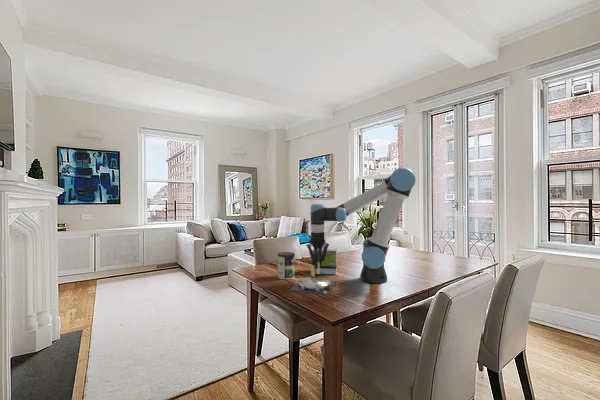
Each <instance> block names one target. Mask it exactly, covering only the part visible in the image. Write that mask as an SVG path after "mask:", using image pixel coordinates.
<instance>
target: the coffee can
mask: <svg viewBox="0 0 600 400" xmlns="http://www.w3.org/2000/svg"><path fill="white" fill-rule="evenodd" d="M295 257H296V254H295V252H291V251H283V252H282V251H281V252H278V253H277V279H279V280H294V279H295V277H296V275H295V273H296V272H295V271H296V267H295V266H296V265H295V262H296V261H295V260H296V258H295Z"/></svg>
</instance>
